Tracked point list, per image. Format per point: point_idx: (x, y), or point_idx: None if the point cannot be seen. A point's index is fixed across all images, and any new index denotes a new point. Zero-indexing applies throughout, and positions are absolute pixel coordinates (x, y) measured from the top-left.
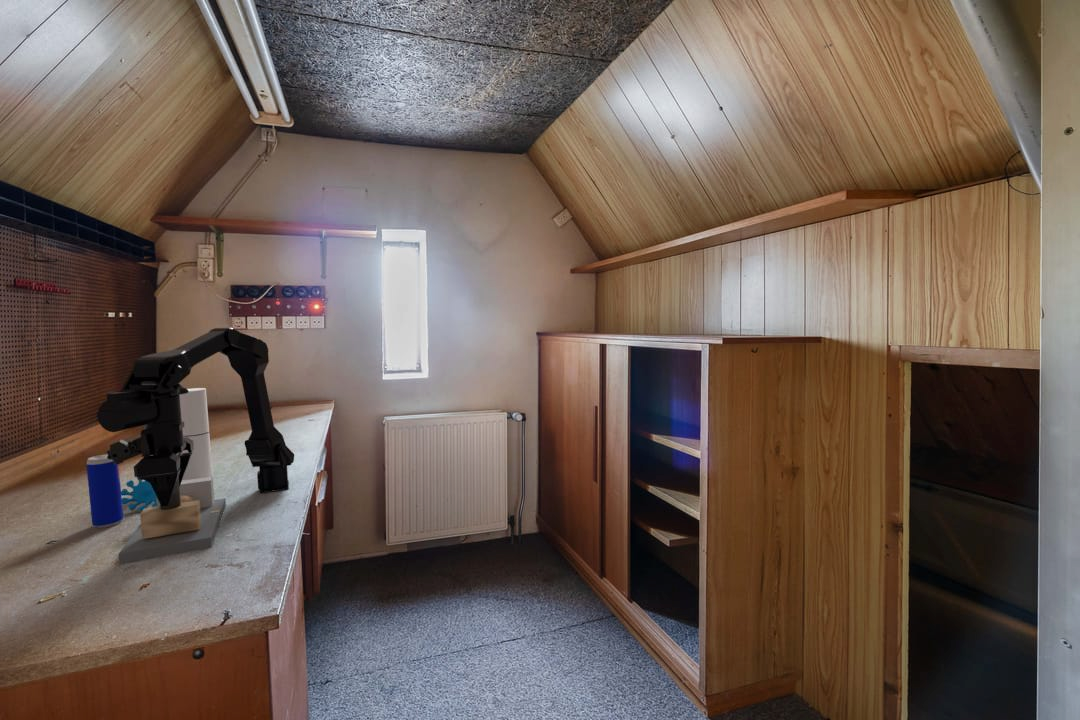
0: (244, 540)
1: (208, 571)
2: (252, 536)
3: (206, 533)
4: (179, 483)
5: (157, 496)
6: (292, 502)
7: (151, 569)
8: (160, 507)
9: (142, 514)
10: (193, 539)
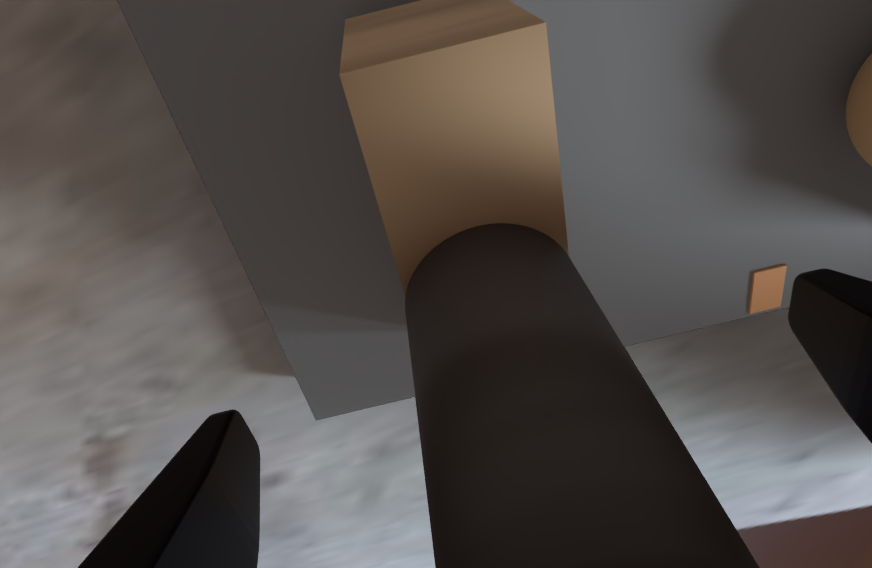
0: (372, 472)
1: (44, 463)
2: (411, 484)
3: (382, 380)
4: (849, 402)
5: (113, 538)
6: (789, 496)
7: (54, 207)
8: (451, 247)
9: (347, 95)
10: (302, 352)
